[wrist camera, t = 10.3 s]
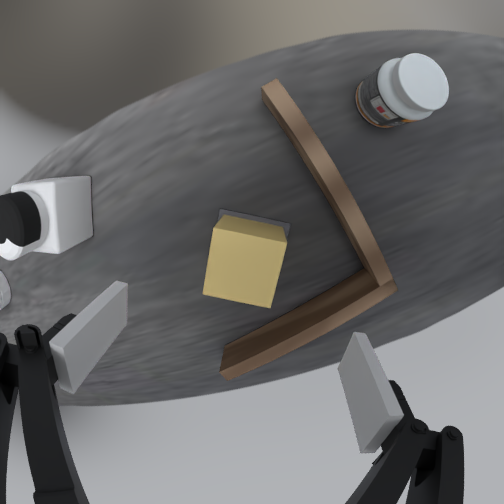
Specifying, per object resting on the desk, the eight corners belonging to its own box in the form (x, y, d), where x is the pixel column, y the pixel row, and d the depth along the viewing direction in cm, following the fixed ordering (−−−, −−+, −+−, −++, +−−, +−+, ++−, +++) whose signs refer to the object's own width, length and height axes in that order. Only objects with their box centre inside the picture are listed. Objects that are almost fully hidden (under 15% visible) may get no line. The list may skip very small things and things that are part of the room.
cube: (282, 226, 29) (287, 243, 24) (269, 281, 31) (270, 308, 25) (223, 214, 29) (213, 227, 23) (213, 269, 31) (202, 294, 25)
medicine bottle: (48, 178, 29) (-23, 192, 17) (92, 175, 29) (18, 188, 17) (52, 234, 31) (-14, 264, 19) (94, 236, 31) (28, 272, 19)
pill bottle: (384, 139, 26) (433, 133, 17) (342, 101, 25) (378, 76, 16) (412, 104, 25) (464, 88, 15) (372, 67, 24) (414, 34, 14)
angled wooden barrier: (380, 271, 30) (398, 290, 26) (232, 354, 34) (227, 380, 30) (274, 91, 25) (276, 78, 21) (118, 203, 29) (95, 211, 25)
